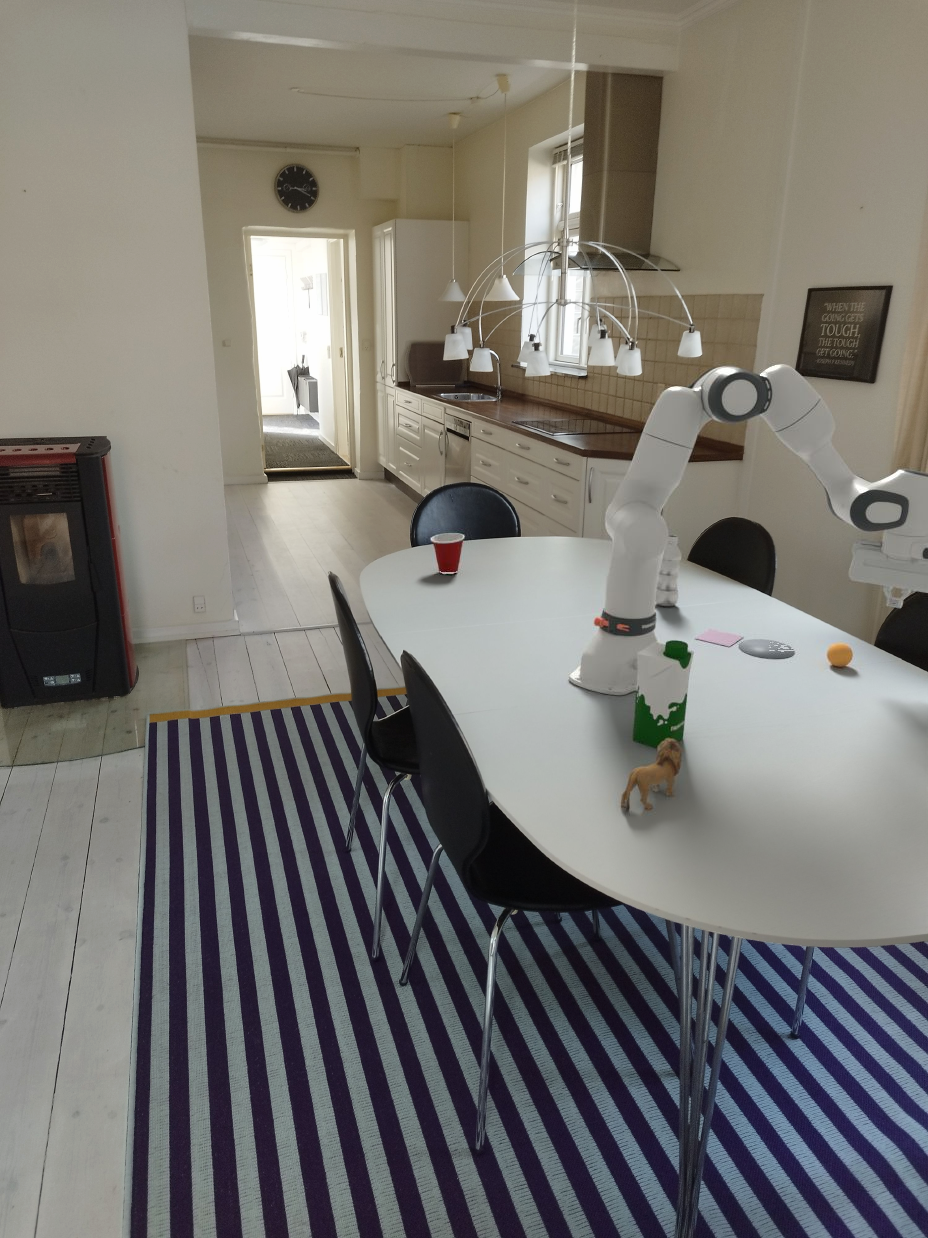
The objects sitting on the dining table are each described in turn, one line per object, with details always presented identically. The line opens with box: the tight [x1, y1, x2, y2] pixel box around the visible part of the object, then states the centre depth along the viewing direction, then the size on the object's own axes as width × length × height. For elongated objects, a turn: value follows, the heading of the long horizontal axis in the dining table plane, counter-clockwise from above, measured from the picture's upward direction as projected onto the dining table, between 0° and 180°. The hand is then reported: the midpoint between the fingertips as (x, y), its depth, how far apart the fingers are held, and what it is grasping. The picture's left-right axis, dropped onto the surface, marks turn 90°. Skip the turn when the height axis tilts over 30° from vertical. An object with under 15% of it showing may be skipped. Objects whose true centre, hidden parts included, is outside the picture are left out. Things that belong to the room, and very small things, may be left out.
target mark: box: [738, 638, 795, 660], centre depth 209 cm, size 13×13×1 cm
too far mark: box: [694, 628, 744, 648], centre depth 216 cm, size 9×9×1 cm
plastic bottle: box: [655, 534, 682, 607], centre depth 238 cm, size 6×7×20 cm
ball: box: [826, 642, 854, 668], centre depth 198 cm, size 6×6×6 cm
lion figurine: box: [620, 738, 683, 814], centre depth 141 cm, size 15×5×9 cm, turn 138°
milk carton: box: [632, 639, 695, 749], centre depth 160 cm, size 9×9×20 cm
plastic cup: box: [430, 532, 465, 572], centre depth 271 cm, size 11×11×12 cm
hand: (894, 606), depth 188 cm, fingers closed
